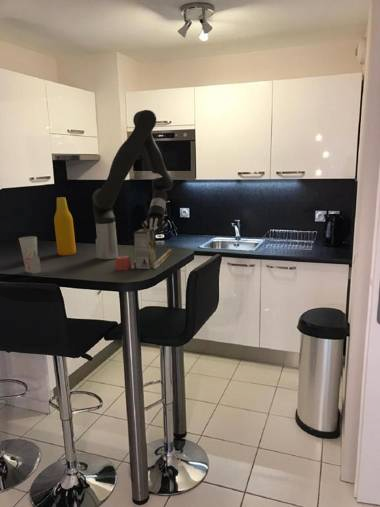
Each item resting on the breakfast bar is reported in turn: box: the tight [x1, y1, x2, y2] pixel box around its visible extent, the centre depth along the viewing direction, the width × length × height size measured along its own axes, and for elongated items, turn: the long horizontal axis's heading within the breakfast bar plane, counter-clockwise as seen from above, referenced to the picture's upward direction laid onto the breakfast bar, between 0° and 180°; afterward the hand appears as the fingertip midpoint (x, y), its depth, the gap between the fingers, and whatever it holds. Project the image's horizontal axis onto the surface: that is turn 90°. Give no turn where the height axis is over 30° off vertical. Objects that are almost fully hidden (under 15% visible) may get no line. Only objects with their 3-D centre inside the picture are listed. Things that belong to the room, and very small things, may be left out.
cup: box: [18, 235, 38, 260], centre depth 196 cm, size 8×8×12 cm
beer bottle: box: [53, 196, 77, 257], centre depth 210 cm, size 9×9×29 cm
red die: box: [114, 255, 132, 271], centre depth 178 cm, size 5×5×5 cm
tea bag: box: [23, 249, 42, 275], centre depth 179 cm, size 4×7×10 cm, turn 50°
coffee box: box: [133, 228, 157, 270], centre depth 180 cm, size 9×6×16 cm
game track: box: [130, 248, 173, 270], centre depth 191 cm, size 11×30×2 cm, turn 169°
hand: (151, 239), depth 190 cm, fingers closed
